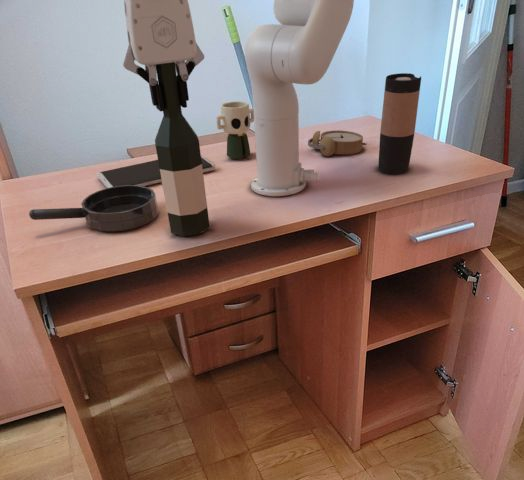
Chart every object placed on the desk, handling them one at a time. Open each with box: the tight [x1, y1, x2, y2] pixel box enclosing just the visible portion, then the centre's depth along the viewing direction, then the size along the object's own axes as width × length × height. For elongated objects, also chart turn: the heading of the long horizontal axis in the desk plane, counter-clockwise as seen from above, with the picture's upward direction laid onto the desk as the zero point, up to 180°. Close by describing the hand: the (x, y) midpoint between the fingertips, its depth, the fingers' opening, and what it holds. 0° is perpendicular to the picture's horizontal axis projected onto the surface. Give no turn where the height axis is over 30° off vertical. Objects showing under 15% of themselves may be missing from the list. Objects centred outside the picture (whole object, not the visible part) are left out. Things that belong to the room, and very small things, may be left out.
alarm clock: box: [307, 129, 368, 157], centre depth 132 cm, size 11×5×15 cm
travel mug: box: [377, 72, 422, 176], centre depth 114 cm, size 8×8×20 cm
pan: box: [81, 185, 159, 233], centre depth 105 cm, size 15×15×4 cm
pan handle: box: [28, 207, 85, 221], centre depth 101 cm, size 11×2×4 cm, turn 113°
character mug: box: [216, 100, 254, 160], centre depth 129 cm, size 11×7×13 cm, turn 122°
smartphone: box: [97, 155, 216, 189], centre depth 125 cm, size 13×27×2 cm, turn 118°
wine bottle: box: [154, 62, 211, 237], centre depth 91 cm, size 8×8×30 cm
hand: (171, 106), depth 86 cm, fingers closed on wine bottle, 3 cm apart
